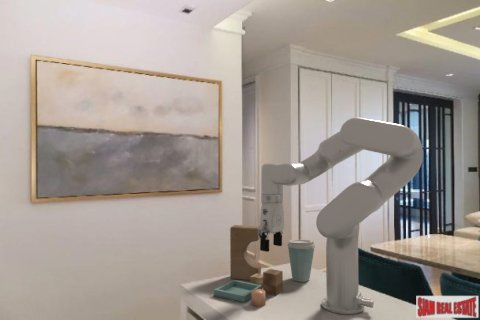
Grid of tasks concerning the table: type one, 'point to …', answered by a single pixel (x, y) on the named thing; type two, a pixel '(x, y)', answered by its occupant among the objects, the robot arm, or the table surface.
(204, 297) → the table surface
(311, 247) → the disposable coffee cup
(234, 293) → the tray
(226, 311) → the table surface
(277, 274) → the walnut block
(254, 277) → the oak cube
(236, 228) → the decorative block
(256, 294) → the peach round blob
